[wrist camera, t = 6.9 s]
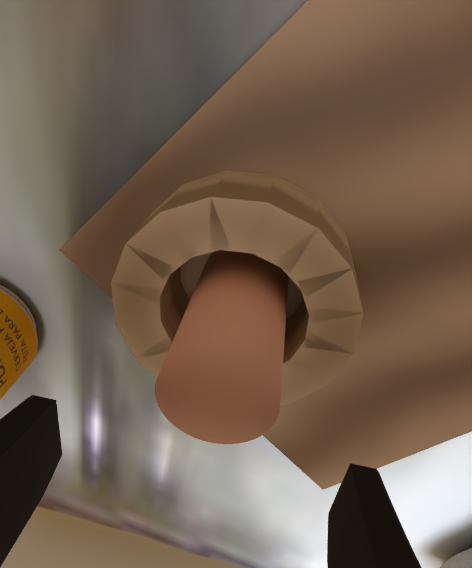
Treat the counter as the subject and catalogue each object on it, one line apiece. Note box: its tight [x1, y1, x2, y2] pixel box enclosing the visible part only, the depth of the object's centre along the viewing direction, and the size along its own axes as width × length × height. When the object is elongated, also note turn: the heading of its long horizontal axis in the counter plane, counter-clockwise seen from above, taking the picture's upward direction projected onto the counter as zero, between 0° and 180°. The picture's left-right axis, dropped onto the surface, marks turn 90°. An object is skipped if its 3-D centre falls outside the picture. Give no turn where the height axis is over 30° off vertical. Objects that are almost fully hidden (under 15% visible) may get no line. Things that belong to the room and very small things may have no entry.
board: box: [59, 0, 472, 489], centre depth 19 cm, size 19×17×1 cm
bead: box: [111, 170, 363, 405], centre depth 17 cm, size 9×9×3 cm
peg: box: [155, 250, 289, 444], centre depth 15 cm, size 4×4×7 cm
